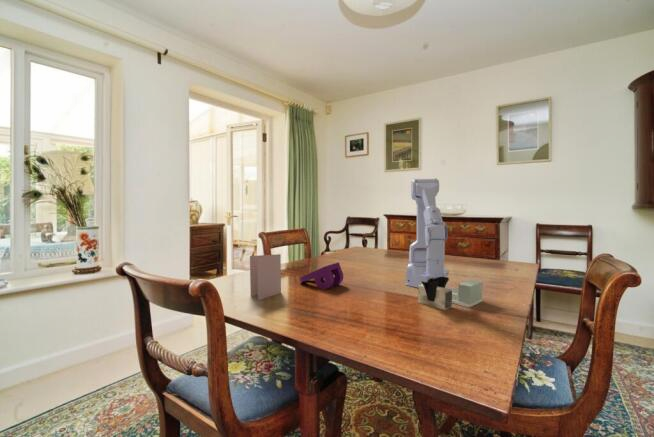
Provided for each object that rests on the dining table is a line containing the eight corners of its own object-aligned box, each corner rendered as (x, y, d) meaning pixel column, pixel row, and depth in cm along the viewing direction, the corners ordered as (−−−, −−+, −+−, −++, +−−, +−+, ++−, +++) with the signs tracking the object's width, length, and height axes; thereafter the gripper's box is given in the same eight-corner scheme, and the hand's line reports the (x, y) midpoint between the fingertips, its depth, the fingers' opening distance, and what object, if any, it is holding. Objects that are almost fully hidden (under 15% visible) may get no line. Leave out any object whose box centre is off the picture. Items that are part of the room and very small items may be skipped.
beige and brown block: (418, 302, 110) (418, 285, 110) (424, 300, 113) (424, 283, 113) (445, 310, 102) (446, 291, 102) (451, 307, 105) (452, 289, 105)
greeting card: (280, 292, 123) (280, 253, 122) (284, 297, 116) (283, 257, 115) (250, 295, 120) (249, 255, 119) (252, 301, 112) (251, 259, 112)
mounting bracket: (301, 298, 134) (333, 286, 124) (294, 279, 136) (325, 266, 126) (315, 293, 142) (346, 281, 132) (309, 275, 143) (338, 262, 133)
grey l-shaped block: (423, 295, 118) (424, 277, 117) (438, 290, 124) (438, 273, 124) (469, 307, 105) (469, 286, 104) (482, 301, 111) (482, 281, 111)
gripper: (434, 264, 99) (433, 307, 100) (457, 258, 108) (456, 297, 109) (415, 261, 104) (414, 301, 105) (438, 255, 114) (437, 293, 115)
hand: (434, 299), depth 108 cm, fingers closed on beige and brown block, 4 cm apart
